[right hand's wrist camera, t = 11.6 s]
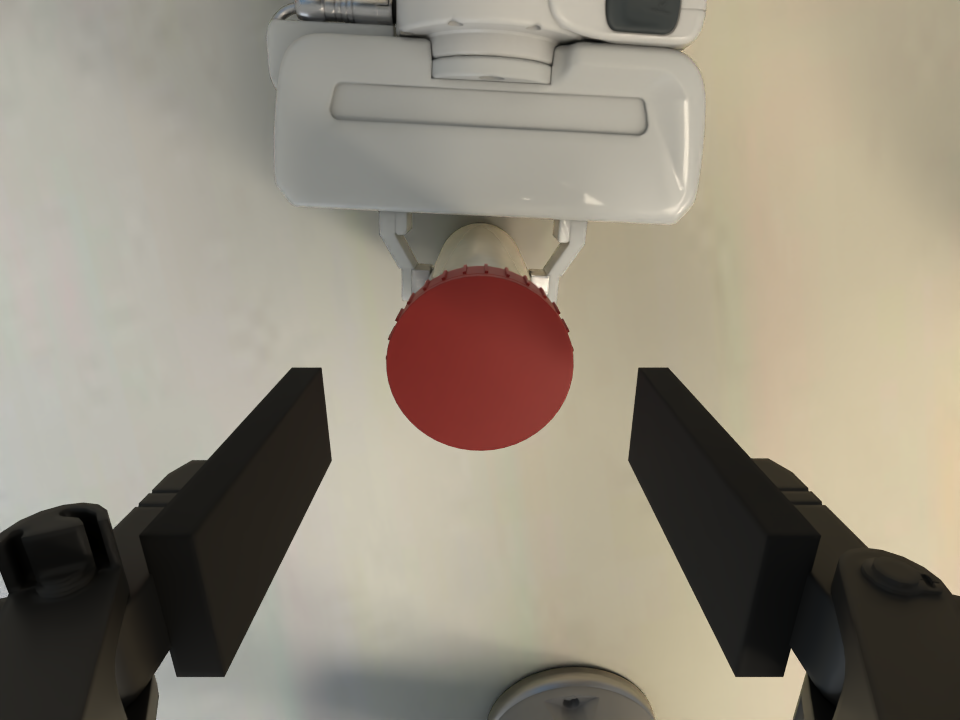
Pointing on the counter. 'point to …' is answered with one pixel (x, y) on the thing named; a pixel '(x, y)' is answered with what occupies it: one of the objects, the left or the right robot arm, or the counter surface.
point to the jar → (479, 250)
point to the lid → (479, 358)
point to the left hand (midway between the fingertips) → (480, 302)
